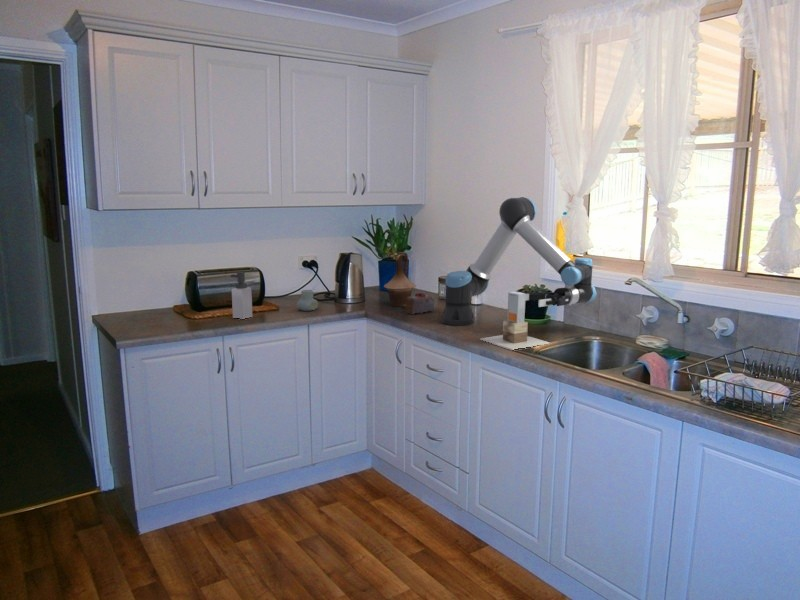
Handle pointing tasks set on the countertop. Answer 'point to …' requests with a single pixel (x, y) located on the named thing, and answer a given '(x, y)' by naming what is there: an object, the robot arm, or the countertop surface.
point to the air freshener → (307, 301)
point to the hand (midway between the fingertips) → (527, 300)
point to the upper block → (515, 327)
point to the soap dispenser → (241, 298)
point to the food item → (419, 303)
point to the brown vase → (400, 282)
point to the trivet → (511, 346)
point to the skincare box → (516, 307)
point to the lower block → (515, 337)
